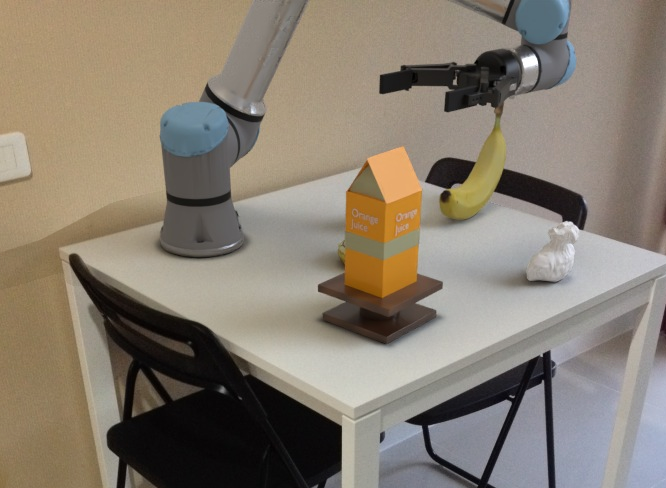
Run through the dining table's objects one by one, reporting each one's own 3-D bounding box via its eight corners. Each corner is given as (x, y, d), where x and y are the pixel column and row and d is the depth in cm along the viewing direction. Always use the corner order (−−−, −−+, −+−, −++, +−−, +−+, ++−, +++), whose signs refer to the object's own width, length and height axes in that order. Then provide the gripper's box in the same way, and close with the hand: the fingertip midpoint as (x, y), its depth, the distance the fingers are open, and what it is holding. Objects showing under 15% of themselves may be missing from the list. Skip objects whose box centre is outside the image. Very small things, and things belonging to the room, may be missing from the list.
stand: (317, 320, 155) (317, 284, 152) (372, 293, 164) (373, 259, 161) (387, 346, 148) (388, 309, 145) (440, 316, 157) (443, 281, 153)
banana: (454, 232, 188) (463, 124, 176) (428, 226, 191) (435, 119, 179) (507, 201, 203) (518, 100, 191) (482, 196, 206) (492, 95, 194)
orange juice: (343, 284, 152) (345, 152, 140) (379, 268, 157) (383, 140, 146) (382, 298, 148) (388, 164, 136) (418, 281, 153) (425, 151, 142)
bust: (531, 300, 168) (574, 261, 159) (505, 265, 169) (546, 224, 160) (567, 280, 176) (610, 241, 167) (542, 246, 176) (583, 206, 167)
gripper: (562, 113, 153) (473, 137, 141) (444, 83, 168) (355, 103, 156) (569, 62, 149) (478, 82, 137) (448, 36, 163) (356, 52, 151)
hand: (412, 93), depth 146 cm, fingers open, 13 cm apart
